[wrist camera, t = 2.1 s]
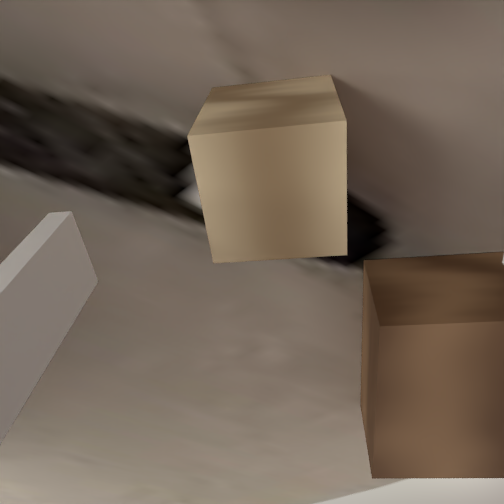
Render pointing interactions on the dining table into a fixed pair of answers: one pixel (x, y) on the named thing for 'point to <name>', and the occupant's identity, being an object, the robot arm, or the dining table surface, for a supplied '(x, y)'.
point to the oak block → (272, 170)
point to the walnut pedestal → (434, 366)
